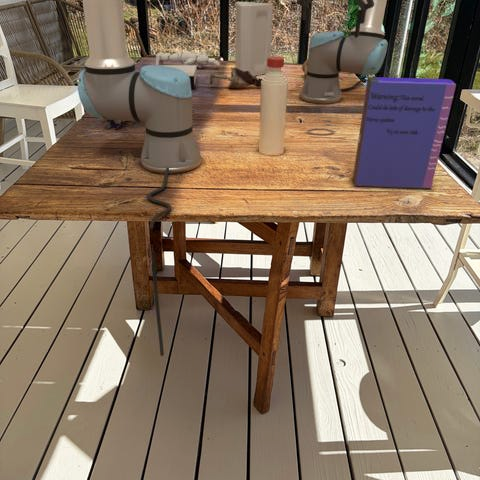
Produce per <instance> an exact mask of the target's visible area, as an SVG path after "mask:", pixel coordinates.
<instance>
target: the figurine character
mask: <svg viewBox="0 0 480 480" xmlns="http://www.w3.org/2000/svg"><path fill="white" fill-rule="evenodd" d="M98 120H99V122H100V123H101V124H107V123H109V124H108V125H107V127H106V128H107V129H111V127H113V126H116V130H118V129H119V128H120V127H121V126H122V125H121V124H124V122H125V121H124V120H106V119H102V118H98Z"/></svg>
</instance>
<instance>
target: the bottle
mask: <svg viewBox="0 0 480 480" xmlns="http://www.w3.org/2000/svg"><path fill="white" fill-rule="evenodd" d="M261 79H262V81H261V87H260V104H259V129H258V130H259V131H258V153H260V154H262V155H266V156H278V155H282V154H283V153H284V152H285V136H286V120H287V106H288V105H287V104H288V92H289V91H288V90H289V88H288V87H289V81H288V78H287V77H286V75H285V73H283V70H282V67H281V68H272V67H270V70H269V71H268V73H266V74H264V75H263V77H261Z"/></svg>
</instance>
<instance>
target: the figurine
mask: <svg viewBox="0 0 480 480" xmlns="http://www.w3.org/2000/svg"><path fill="white" fill-rule="evenodd" d="M230 69H231V72H230V73H231V74H230V76H229V75H225V74H213V73H211V74H210V78H209V85H212V84H213V83H214V79H215V78H216V79H223V80H227V81H229V84H228V88H229V89H241V88H247V87H249V86H255V87H256V88H261V81H262V78H261V77H257V76H252V75H251V73H250V72H249V71H245V72H244V71H242V70H240V69H237V68H235V67H232V66H231V67H230Z"/></svg>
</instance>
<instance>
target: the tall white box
mask: <svg viewBox="0 0 480 480" xmlns="http://www.w3.org/2000/svg"><path fill="white" fill-rule="evenodd" d="M273 8H274V4H273V3H269V2H267V3H266V2H265V3H264V2H252V1H235V59H234V60H235V62H234V63H235V65H234V66H235V67H234V68H237V69H240V70H242V71H244V72H245V71H249V72H250V73H251V75H252V76H256V77H257V76H259V75H260V76H261V75H266V73H268V71H269V70H270V67H268V66H267V60H268V57H272V55H271V54H272V33H273V32H272V31H273V10H274V9H273Z"/></svg>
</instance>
